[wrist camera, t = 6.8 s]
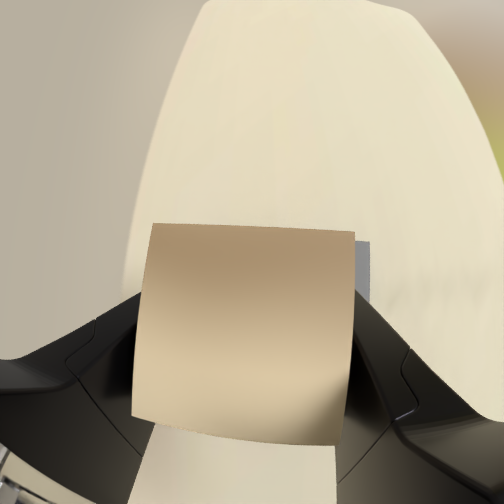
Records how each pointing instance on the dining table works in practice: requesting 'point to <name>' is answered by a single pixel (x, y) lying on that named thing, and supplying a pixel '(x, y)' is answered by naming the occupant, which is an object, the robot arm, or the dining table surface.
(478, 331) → the dining table surface
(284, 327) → the maple block
